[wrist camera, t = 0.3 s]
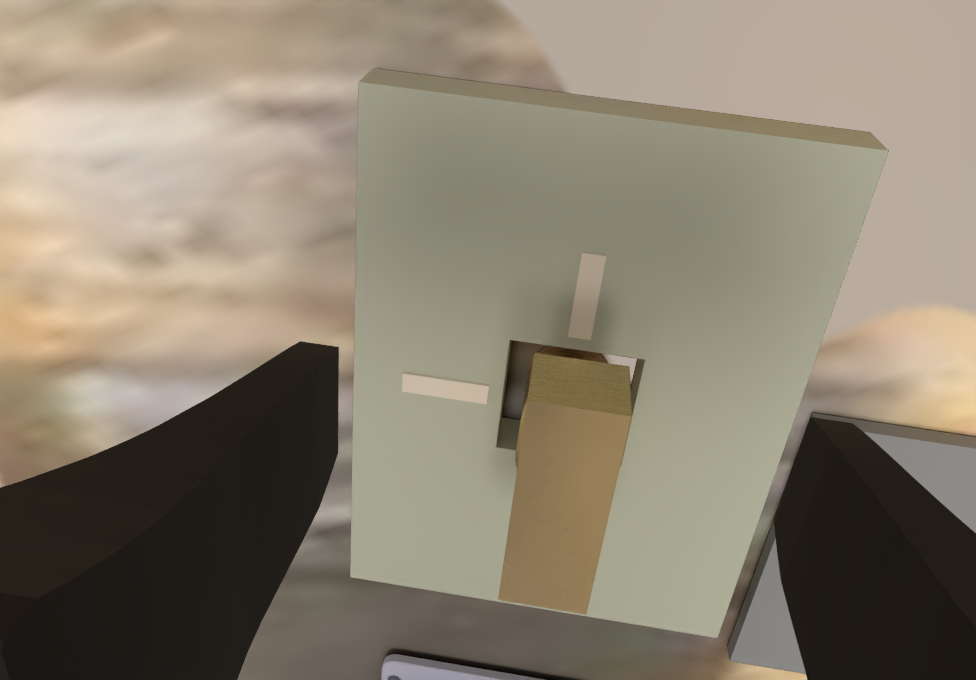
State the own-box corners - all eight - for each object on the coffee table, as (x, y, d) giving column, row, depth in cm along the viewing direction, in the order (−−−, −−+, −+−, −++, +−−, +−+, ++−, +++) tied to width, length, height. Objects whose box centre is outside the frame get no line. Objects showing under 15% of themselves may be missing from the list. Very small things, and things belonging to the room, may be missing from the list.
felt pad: (1023, 696, 28) (1030, 711, 27) (727, 647, 28) (729, 661, 28) (1176, 467, 23) (1188, 480, 22) (812, 412, 23) (817, 424, 23)
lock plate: (712, 601, 28) (717, 640, 26) (362, 544, 28) (349, 579, 27) (870, 132, 19) (889, 152, 18) (374, 68, 20) (357, 83, 19)
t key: (593, 463, 25) (590, 615, 20) (516, 451, 25) (494, 599, 20) (629, 290, 22) (636, 417, 17) (541, 277, 22) (522, 399, 17)
